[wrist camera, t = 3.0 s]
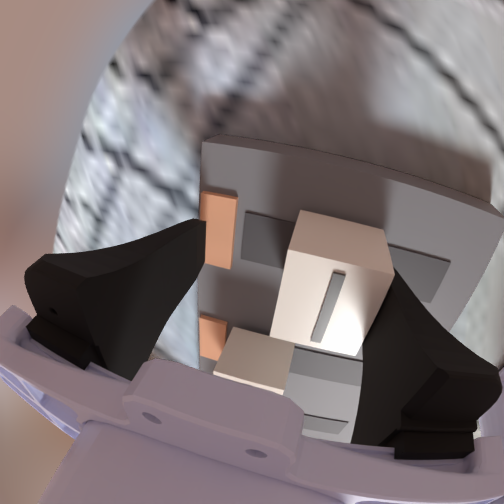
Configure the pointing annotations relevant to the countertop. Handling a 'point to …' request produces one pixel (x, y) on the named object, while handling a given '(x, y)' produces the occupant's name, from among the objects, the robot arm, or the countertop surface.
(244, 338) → the knob
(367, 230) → the slotted white cube
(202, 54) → the countertop surface
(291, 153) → the panel
